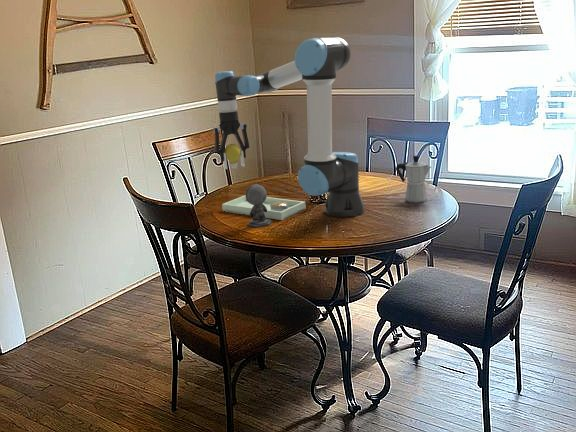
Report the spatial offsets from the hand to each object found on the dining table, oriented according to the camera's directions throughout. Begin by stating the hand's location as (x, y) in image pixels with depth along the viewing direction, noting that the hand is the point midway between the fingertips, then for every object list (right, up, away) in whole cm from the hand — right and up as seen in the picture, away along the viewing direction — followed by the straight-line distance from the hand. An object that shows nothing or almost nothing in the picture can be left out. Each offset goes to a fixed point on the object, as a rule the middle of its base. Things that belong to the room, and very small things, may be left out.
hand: (234, 167), depth 240 cm
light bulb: (0, -1, 0) cm, 1 cm away
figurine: (+11, -23, -23) cm, 34 cm away
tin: (+19, -18, -10) cm, 28 cm away
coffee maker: (+73, -14, -5) cm, 74 cm away
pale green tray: (+12, -18, -6) cm, 22 cm away
